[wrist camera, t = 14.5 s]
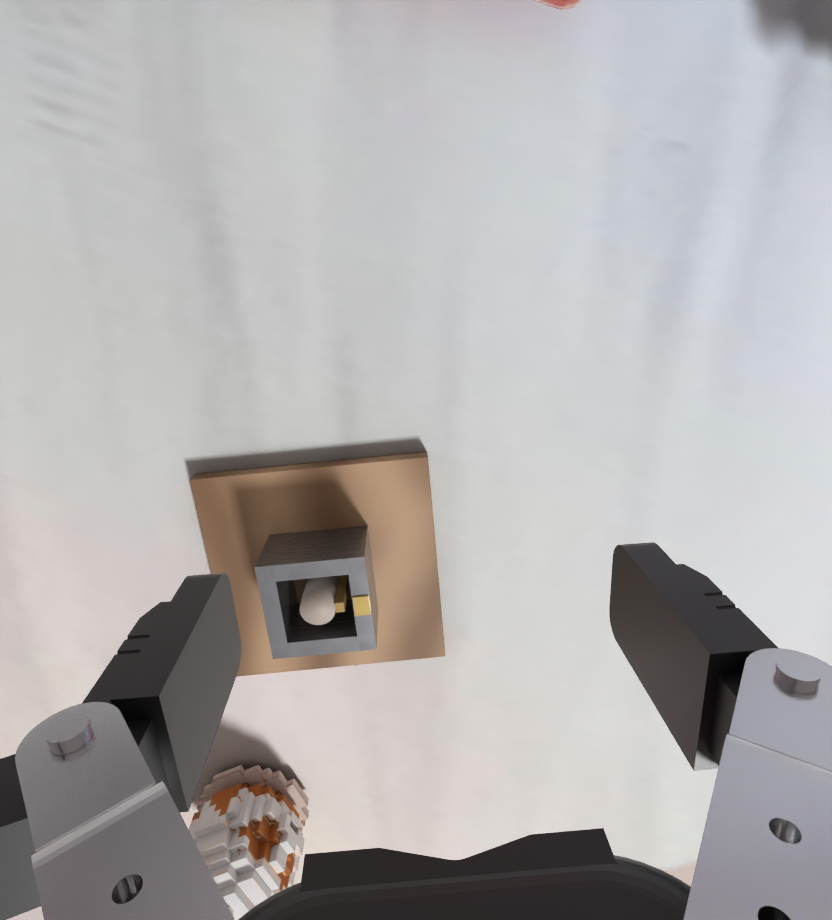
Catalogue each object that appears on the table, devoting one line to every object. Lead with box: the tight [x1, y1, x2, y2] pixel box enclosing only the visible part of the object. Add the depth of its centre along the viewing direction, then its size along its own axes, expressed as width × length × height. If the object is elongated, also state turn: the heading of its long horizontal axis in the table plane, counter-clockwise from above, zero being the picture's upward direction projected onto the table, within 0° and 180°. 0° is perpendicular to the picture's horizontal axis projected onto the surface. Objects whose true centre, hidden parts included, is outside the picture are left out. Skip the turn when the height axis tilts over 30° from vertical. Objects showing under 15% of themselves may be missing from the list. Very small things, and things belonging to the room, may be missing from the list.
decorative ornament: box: [189, 765, 309, 920], centre depth 36 cm, size 8×8×15 cm
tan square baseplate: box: [190, 452, 445, 676], centre depth 35 cm, size 14×14×5 cm
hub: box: [254, 525, 378, 659], centre depth 34 cm, size 6×6×4 cm
